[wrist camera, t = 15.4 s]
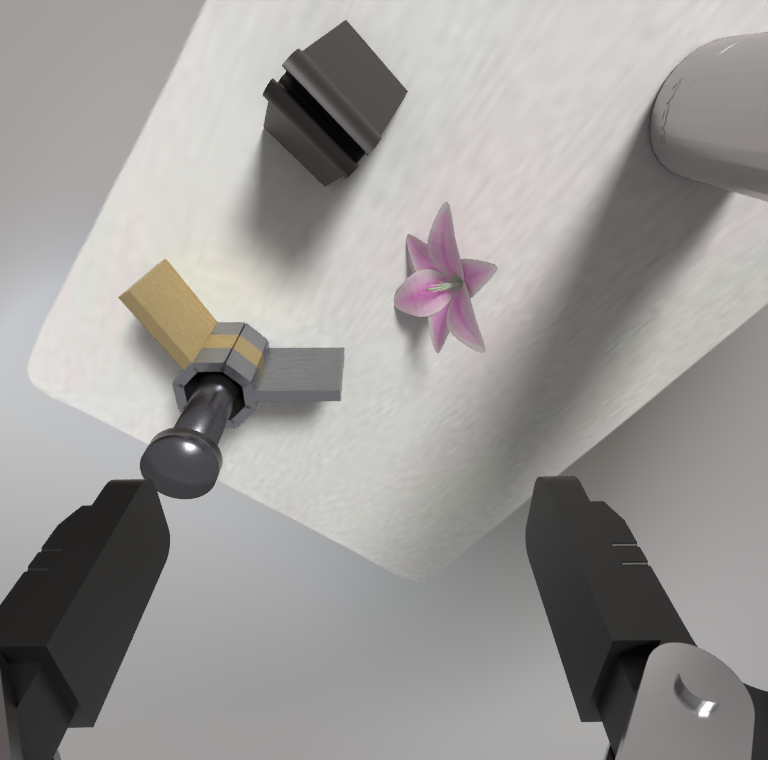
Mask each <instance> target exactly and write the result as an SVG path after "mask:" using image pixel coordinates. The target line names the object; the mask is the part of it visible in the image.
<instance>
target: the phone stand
mask: <svg viewBox="0 0 768 760" xmlns="http://www.w3.org/2000/svg"><path fill="white" fill-rule="evenodd" d="M282 66H283V67H284V68H285V69H286V73H285V74H284V75H283V76H282V77H281V79H280V80H279V82H278V83H277V82H276V81H275V80H274V79H271V81H270V82H269V84H268V85H267V87H266V89H265V91H264V93H263V96H264V97H265V98H266V99H267V100H268V106H267V111H266V116H265V122H264V127H265V128H266V129H267V130H268V131H269V132H270V133H271V134H272V135H273V136H274V137H275V138H276V139H277V140H278V141H279V142H280V143H281V144H282V145H283V146H284V147H285V148H286V149H287V150H288V151H289V152H290V153H291V154H292V155H293V156H294V157H295V158H296V159H297V160H298V161H299V162H300V163H301V164H302V165H304V166H305V167H306V168H307V169H308V170H309V171H310V172H311V173H312V174H313V175H314V176H315V177H316V178H317V179H318V180H319V181H320V182H321V183H322V184H323V185H324V186H327V185H328V184H330V183H332V182H333V181H335V180H337V179H338V178H340V177H342V176H344V177H345V178H348V177H349V176H350V175H351V174H352V173H353V172H354V171H355V170H356V169H357V167H358V165H357V164H356V163H357V162H358V161H359V160H360V159H361V158H362V156H363V155H364V154H365V153H366V154H367V155H369V154H370V153H371V152H372V150H373V149H374V148H375V147H376V145H377V144H378V143H379V141H380V140H381V136H380V135H381V134H382V132H383V130H384V129H385V127H386V126H387V124H388V122H389V121H390V119H391V117H392V116H393V114H394V113H395V111H396V109H397V108H398V106H399V105H400V103H401V101H402V100H403V98H404V97H405V95H406V93H407V92H408V91H407V90H406V89H405V88H404V87H403V85H402V84H401V83H400V82H399V81H398V80H397V78H396V77H395V76H394V75H393V74H392V73H391V72H390V70H389V69H388V68H387V67H386V66H385V65H384V63H383V62H382V61H381V60H380V59H379V58H378V56H377V55H376V54H375V53H374V52H373V51H372V49H371V48H370V47H369V46H368V45H367V44H366V42H365V41H364V40H363V39H362V38H361V37H360V35H359V34H358V33H357V32H356V31H355V30H354V29H353V27H352V26H351V25H350V24H349V23H348V22H347V20H345V21H344V22H342V23H341V24H340V25H338V26H337V27H335V28H334V29H333V30H331V31H330V32H328V33H327V34H326V35H324V36H323V37H321V38H320V39H319V40H317V41H316V42H315V43H313V44H312V45H310V46H309V47H308V48H306V49H305V50H303V51H301V50H300V49H297V50H296V51H294V52H293V53H292V54H291V55H290V56H289V58H288V59H287V60H286V61H285V62H284V63H283V65H282Z"/></svg>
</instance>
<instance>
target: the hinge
mask: <svg viewBox="0 0 768 760" xmlns="http://www.w3.org/2000/svg"><path fill="white" fill-rule="evenodd" d="M118 298H119V299H120V300H121V301H122V302H123V303H124V304H125V306H126V307H127V308H128V309H129V310H130V311H131V312H132V313H133V314H134V316H135V317H136V318H137V319H138V320H139V321H140V322H141V323H142V324H143V326H144V327H145V328H146V329H147V330H148V331H149V332H150V333H151V334H152V336H153V337H154V338H155V339H156V340H157V341H158V342H159V343H160V344H161V346H162V347H163V348H164V349H165V350H166V351H167V352H168V353H169V354H170V356H171V357H172V358H173V359H174V360H175V361H176V362H177V363H178V364H179V366H180V367H181V368H182V369H181V371H180V373H179V374H178V376H177V377H176V379H175V380H174V382H173V388H174V392H175V396H176V401H177V405H178V409H179V410H180V412H183V410H184V409H185V407H186V405H187V403H188V402H189V400H190V398H191V396H192V394H193V393H194V391H195V389H196V387H197V386H198V384H199V382H200V380H201V379H202V377H203V375H204V373H205V372H224V373H225V374H226V375H228V376H229V377H230V378H232V379H233V380H234V381H236V382H237V383H238V384H240V385H241V386H242V388H241V390H240V393H239V395H238V397H237V400H236V402H235V405H234V407H233V409H232V412H231V414H230V416H229V419H228V421H227V424H226V426H225V428H236V427H238V426H239V425H240V424H241V423H242V422H244V421H245V420H246V419H247V418H248V417H249V416H250V415H251V414H252V413H253V412H254V411H255V410H256V407H257V404H258V402H271V401H341V390H342V379H343V368H344V348H269V342H268V341H267V339H266V338H264V337H263V336H262V335H261V334H259V333H258V332H257V331H256V330H254V329H253V328H252V327H251V326H249V325H248V324H247V323H246V324H245V323H218V322H217V321H216V320H215V319H214V318H213V316H212V315H211V314H210V313H209V311H208V310H207V309H206V308H205V306H204V305H203V304H202V303H201V302H200V300H199V299H198V298H197V297H196V295H195V294H194V293H193V292H192V290H191V289H190V288H189V287H188V285H187V284H186V283H185V282H184V281H183V279H182V278H181V277H180V276H179V274H178V273H177V272H176V271H175V269H174V268H173V267H172V266H171V265H170V263H169V262H168V261H167V260H166V259H165V260H163V261H162V262H160V263H159V264H157V265H156V266H155V267H153V268H152V269H151V270H150V271H149V272H148V273H146V274H145V275H144V276H143V277H142V278H140V279H139V280H138V281H137V282H136V283H135V284H133V285H132V286H131V287H130V288H129V289H128V290H126V291H125V292H124V293H123V294H122V295H121V296H119V297H118Z"/></svg>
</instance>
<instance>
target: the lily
mask: <svg viewBox="0 0 768 760" xmlns="http://www.w3.org/2000/svg"><path fill="white" fill-rule="evenodd" d="M406 240H407V246H408V250H409V254H410V257H411V260H412V262H413V265H414V267H415V269H416V271H417V272H415V273H413V274H412V275H411V276H409V277H408V278H407V279H406V281H405V282H404V283H403V284H402V286H401V287H400V289H399V290H398V292H397V294H396V296H395V298H394V306H395V307H396V308H397V309H398V310H400V311H402V312H404V313H407V314H410V315H414V316H418V317H427V316H428V320H429V329H430V334H431V339H432V343H433V346H434V349H435V351H436V352H437V353H439V352H440V350H441V348H442V347H443V345H444V343H445V340H446V338H447V336H448V334H449V332H451V334H452V335H453V336H455V337H456V338H457V339H458V340H459V341H461V342H462V343H464V344H465V345H466V346H468V347H470V348H472V349H473V350H475V351H478V352H480V353H483V352H485V346H484V342H483V339H482V336H481V333H480V330H479V327H478V324H477V321H476V318H475V315H474V312H473V308H472V304H471V300H470V298H471V297H473V296H474V295H475V294H476V293H477V292H478V291H479V290H480V289H481V288H482V287H483V286H484V285H485V284H486V283H487V282H488V281H489V280H490V279H491V277H492V276H493V275H494V274H495V272H496V271H497V266H496V265H495V264H491V263H488V262H484V261H479V260H472V259H460V256H459V252H458V248H457V244H456V239H455V233H454V227H453V221H452V215H451V210H450V206H449V204H448V203H447V202H445V203H444V204H443V205H442V207H441V208H440V210H439V212H438V214H437V216H436V218H435V220H434V223H433V225H432V228H431V230H430V234H429V238H428V245H427V244H425V243H424V242H422V241H421V240H419V239H417V238H415V237H414V236H412V235H409V234H408V235H407V238H406Z"/></svg>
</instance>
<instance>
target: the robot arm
mask: <svg viewBox="0 0 768 760" xmlns="http://www.w3.org/2000/svg"><path fill="white" fill-rule="evenodd" d="M650 134H651V142H652V146H653V150H654V153H655V154H656V156H657V158H658V160H659V161H660V163H661V164H662V165H663V166H664V167H665V168H666V169H667V170H669V171H671V172H673V173H675V174H677V175H679V176H683V177H686V178H689V179H693V180H696V181H700V182H703V183H706V184H709V185H712V186H716V187H719V188H722V189H726V190H729V191H732V192H736V193H739V194H743V195H746V196H749V197H753V198H756V199H760V200H763V201H766V202H768V32H763V33H755V34H747V35H740V36H732V37H727V38H722V39H718V40H714V41H712V42H710V43H708V44H706V45H703V46H701V47H700V48H698V49H697V50H696V51H694V52H693V53H691V54H690V55H688V56H687V57H686V58H685V59H684V60H683V61H682V62H681V63H680V64H679V65H678V66H677V67H676V68H675V69H674V70H673V72H672V73H671V74H670V76H669V77H668V79H667V80H666V81H665V83H664V85H663V87H662V89H661V90H660V92H659V94H658V96H657V99H656V102H655V105H654V108H653V111H652V117H651V124H650ZM169 547H170V533H169V529H168V525H167V522H166V519H165V515H164V512H163V509H162V506H161V503H160V499H159V496H158V493H157V490H156V487H155V484H154V482H153V481H152V480H149V479H136V480H135V479H132V480H111V481H109V482H108V483H107V484H106V485H105V487H104V488H103V490H102V491H101V493H100V494H99V495H98V497H97V499H96V500H95V501H94V503H93V504H92V506H81V507H80V508H79V509H78V510H76V511H75V512H74V513H72V514H71V515H70V516H69V517H68V518H66V519H65V520H64V521H63V522H61V523H60V524H59V525H58V526H57V527H56V529H55V530H54V531H53V533H52V534H51V535H50V537H49V538H48V540H47V541H46V543H45V544H44V545H43V547H42V551H41V552H39V553H38V554H37V555H36V556H35V558H34V559H33V561H32V562H31V563H30V565H29V566H28V571H27V572H24V573H23V574H22V576H21V577H20V578H19V580H18V581H17V583H16V584H15V586H14V587H13V588H12V589H11V591H10V592H9V594H8V595H7V596H6V598H5V599H4V601H3V602H2V603H1V605H0V760H61V757H60V754H59V751H58V750H57V749H58V747H59V745H60V743H61V740H62V738H63V736H64V734H65V732H66V730H67V728H76V727H93V726H94V724H95V722H96V720H97V717H98V715H99V713H100V711H101V708H102V706H103V704H104V701H105V699H106V697H107V695H108V692H109V690H110V688H111V685H112V683H113V681H114V679H115V676H116V674H117V672H118V670H119V667H120V665H121V663H122V661H123V658H124V656H125V654H126V652H127V649H128V647H129V644H130V642H131V640H132V638H133V636H134V633H135V631H136V629H137V626H138V624H139V622H140V620H141V617H142V615H143V613H144V610H145V608H146V606H147V604H148V602H149V599H150V597H151V595H152V592H153V590H154V588H155V585H156V583H157V581H158V579H159V577H160V574H161V572H162V570H163V567H164V565H165V563H166V560H167V557H168V553H169ZM526 547H527V548H526V549H527V554H528V558H529V561H530V564H531V567H532V571H533V574H534V577H535V580H536V583H537V586H538V589H539V592H540V596H541V598H542V602H543V604H544V608H545V611H546V614H547V617H548V620H549V623H550V626H551V630H552V633H553V636H554V639H555V642H556V645H557V648H558V651H559V654H560V658H561V661H562V664H563V667H564V670H565V673H566V676H567V679H568V682H569V685H570V688H571V692H572V695H573V698H574V701H575V704H576V707H577V710H578V713H579V716H580V719H581V722H603V725H604V728H605V731H606V733H607V736H608V739H609V745H608V747H607V749H606V753H605V756H604V759H603V760H768V692H767V691H763V690H760V689H757V688H754V687H751V686H749V685H746V684H744V683H742V681H741V680H740V679H739V678H738V676H737V675H736V674H735V673H734V672H733V671H732V670H731V669H730V668H729V667H728V666H727V665H726V664H725V663H723V662H722V661H721V660H719V659H718V658H716V657H715V656H714V655H712V654H710V653H709V652H707V651H705V650H703V649H701V648H698V647H697V645H696V644H695V642H694V641H693V639H692V638H691V636H690V634H689V632H688V631H687V629H686V627H685V625H684V624H683V622H682V620H681V618H680V617H679V615H678V613H677V611H676V610H675V608H674V606H673V605H672V603H671V601H670V599H669V597H668V596H667V594H666V592H665V590H664V589H663V587H662V585H661V584H660V582H659V580H658V578H657V577H656V575H655V573H654V571H653V570H652V568H651V567H650V566H648V561H647V559H646V557H645V555H644V554H643V552H642V550H641V548H640V547H638V546H637V542H636V540H635V538H634V536H633V534H632V533H631V531H630V529H629V527H628V526H627V524H626V522H625V520H624V519H622V518H621V517H620V516H619V515H618V514H617V513H616V512H615V511H614V510H612V509H611V508H610V507H609V506H608V505H607V504H606V503H605V502H604V501H598V502H596V501H594V502H590V500H589V499H588V497H587V495H586V493H585V491H584V489H583V487H582V485H581V483H580V481H579V480H578V478H576V477H575V476H549V477H538V478H537V479H536V482H535V486H534V491H533V496H532V501H531V506H530V511H529V516H528V521H527V525H526Z"/></svg>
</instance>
